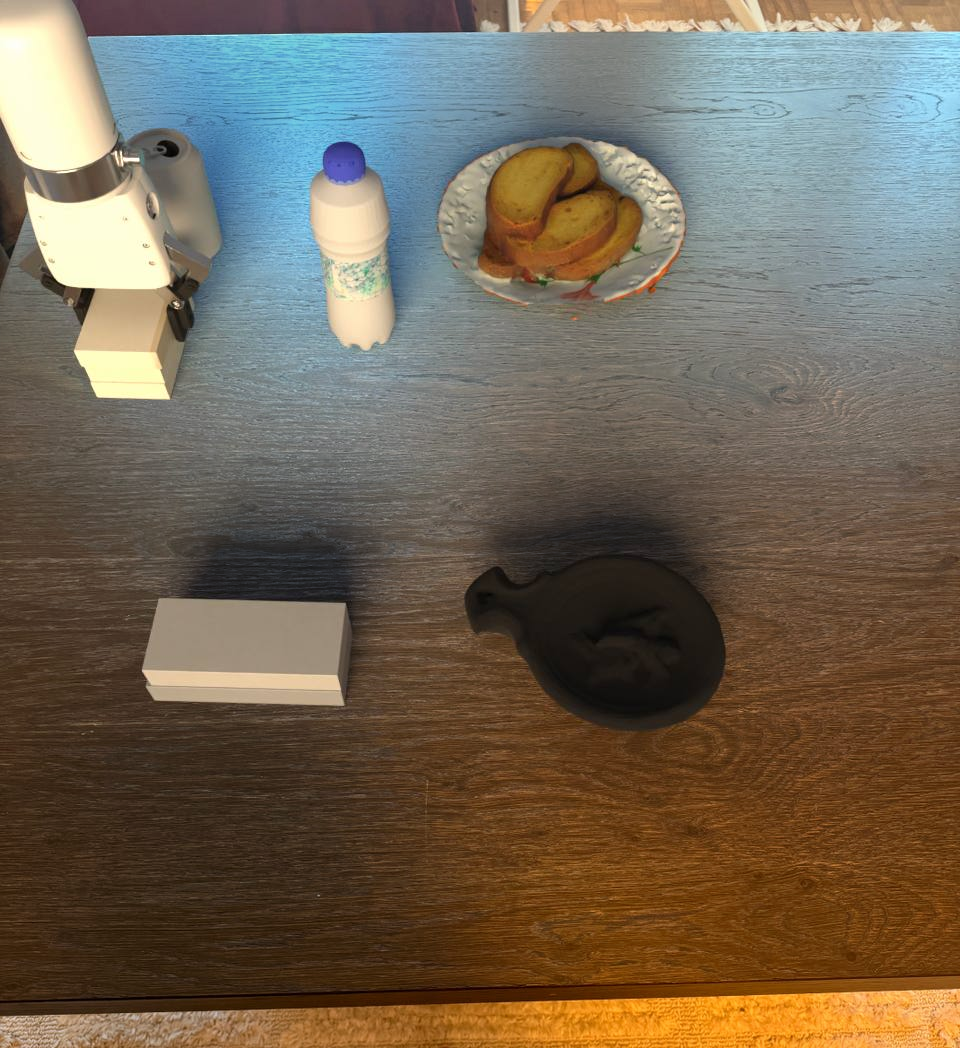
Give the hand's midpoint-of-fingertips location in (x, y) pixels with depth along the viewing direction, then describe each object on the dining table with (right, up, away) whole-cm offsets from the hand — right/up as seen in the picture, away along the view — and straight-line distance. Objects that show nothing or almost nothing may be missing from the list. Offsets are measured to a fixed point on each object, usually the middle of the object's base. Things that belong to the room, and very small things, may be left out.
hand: (141, 329), depth 88 cm
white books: (0, -2, +2) cm, 3 cm away
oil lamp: (+39, -28, -14) cm, 50 cm away
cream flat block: (0, +1, -1) cm, 1 cm away
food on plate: (+39, +12, +12) cm, 43 cm away
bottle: (+20, 0, +4) cm, 20 cm away
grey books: (+14, -28, -16) cm, 35 cm away
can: (+1, +10, +10) cm, 14 cm away
